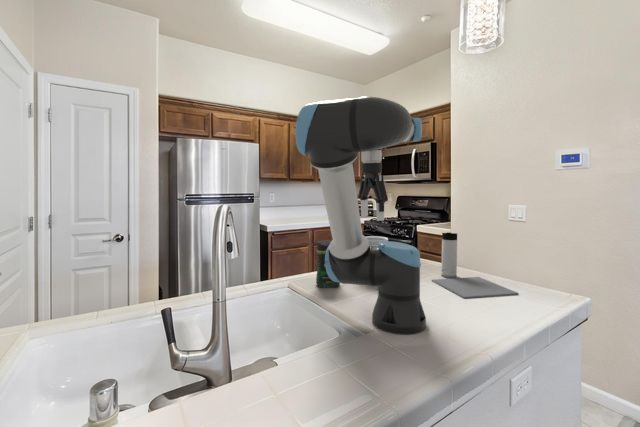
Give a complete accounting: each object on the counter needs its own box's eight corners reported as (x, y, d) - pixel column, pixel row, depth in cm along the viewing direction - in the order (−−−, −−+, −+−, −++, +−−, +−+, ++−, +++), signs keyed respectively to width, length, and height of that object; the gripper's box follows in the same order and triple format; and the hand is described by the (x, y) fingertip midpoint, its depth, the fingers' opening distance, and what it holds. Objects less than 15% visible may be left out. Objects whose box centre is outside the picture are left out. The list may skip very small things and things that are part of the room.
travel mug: (440, 277, 138) (441, 232, 137) (442, 273, 144) (443, 230, 143) (455, 279, 135) (456, 233, 134) (457, 275, 141) (458, 231, 140)
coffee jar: (318, 289, 124) (317, 242, 123) (315, 283, 132) (314, 239, 130) (342, 287, 125) (341, 241, 124) (337, 281, 133) (337, 238, 132)
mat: (518, 294, 115) (518, 292, 115) (463, 298, 111) (463, 296, 111) (478, 278, 137) (478, 276, 136) (431, 281, 133) (431, 279, 133)
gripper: (397, 160, 108) (397, 221, 110) (366, 163, 131) (366, 214, 134) (378, 161, 106) (378, 223, 108) (349, 164, 129) (350, 215, 132)
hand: (372, 218), depth 121 cm, fingers open, 13 cm apart
